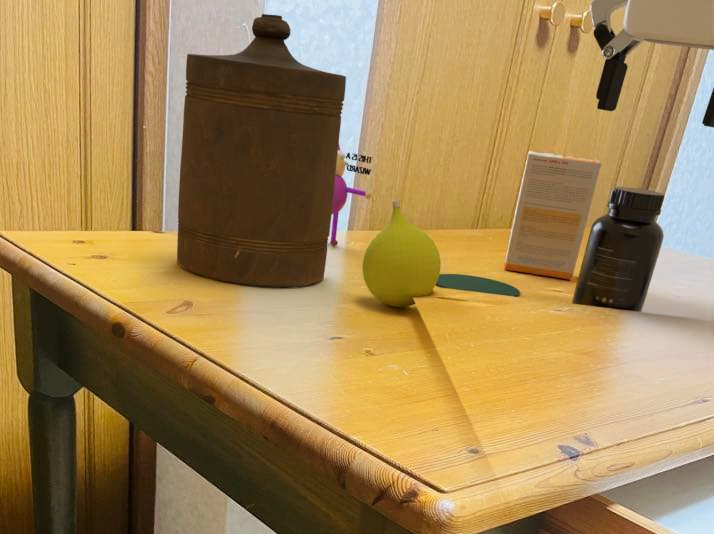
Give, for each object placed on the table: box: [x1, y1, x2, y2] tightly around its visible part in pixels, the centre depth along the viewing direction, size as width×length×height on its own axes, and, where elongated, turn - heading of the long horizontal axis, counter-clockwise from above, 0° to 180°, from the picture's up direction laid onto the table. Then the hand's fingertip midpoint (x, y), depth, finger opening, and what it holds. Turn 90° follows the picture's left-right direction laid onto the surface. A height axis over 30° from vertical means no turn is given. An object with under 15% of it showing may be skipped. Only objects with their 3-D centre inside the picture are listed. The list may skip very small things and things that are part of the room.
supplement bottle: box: [571, 186, 665, 313], centre depth 82 cm, size 7×7×12 cm
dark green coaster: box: [435, 273, 521, 298], centre depth 91 cm, size 10×10×1 cm
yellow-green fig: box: [362, 187, 442, 308], centre depth 76 cm, size 7×7×10 cm
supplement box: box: [504, 150, 602, 281], centre depth 100 cm, size 8×5×13 cm, turn 77°
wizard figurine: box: [329, 143, 374, 247], centre depth 99 cm, size 11×3×12 cm, turn 49°
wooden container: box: [176, 13, 347, 288], centre depth 80 cm, size 15×15×22 cm
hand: (656, 118), depth 77 cm, fingers open, 9 cm apart
